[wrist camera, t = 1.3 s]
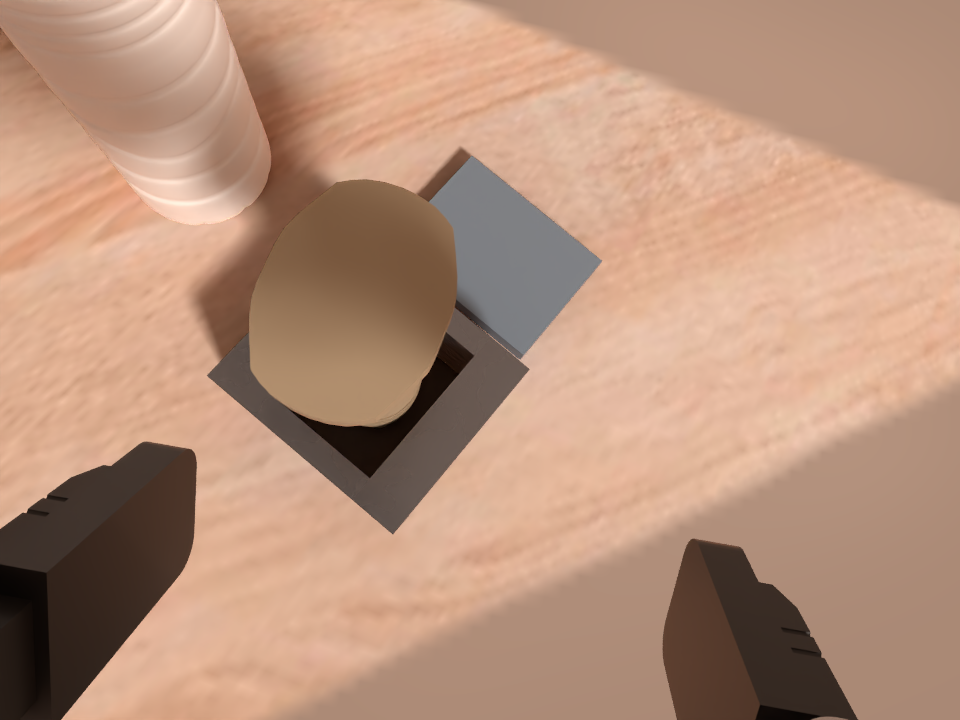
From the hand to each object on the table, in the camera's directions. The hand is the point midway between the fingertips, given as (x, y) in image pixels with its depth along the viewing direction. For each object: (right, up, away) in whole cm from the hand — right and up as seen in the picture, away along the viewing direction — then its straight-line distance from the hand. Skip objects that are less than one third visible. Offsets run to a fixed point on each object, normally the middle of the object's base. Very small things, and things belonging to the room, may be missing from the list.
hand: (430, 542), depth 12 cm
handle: (-4, +1, +21) cm, 22 cm away
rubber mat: (+1, +8, +23) cm, 25 cm away
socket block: (-4, +1, +21) cm, 22 cm away
